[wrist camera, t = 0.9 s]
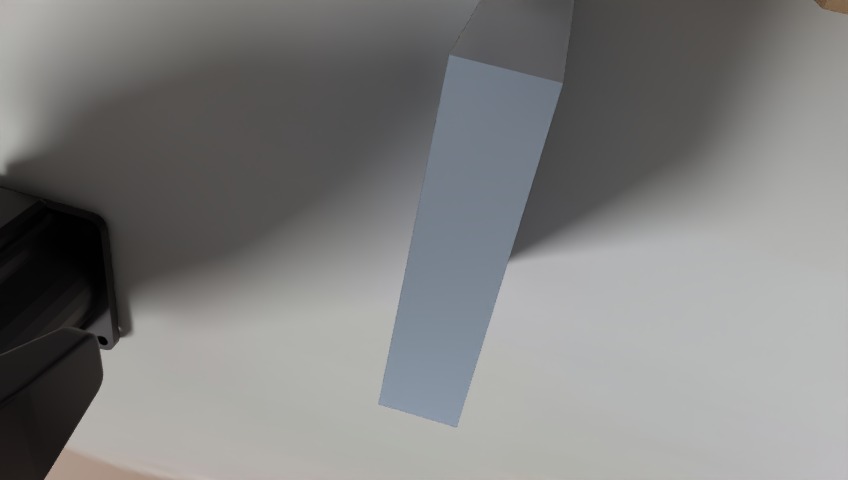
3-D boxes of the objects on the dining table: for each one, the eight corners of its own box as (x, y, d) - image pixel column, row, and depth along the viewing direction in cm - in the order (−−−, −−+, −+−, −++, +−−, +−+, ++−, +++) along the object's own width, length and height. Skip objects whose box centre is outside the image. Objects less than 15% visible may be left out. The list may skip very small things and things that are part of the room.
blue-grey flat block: (494, 265, 22) (456, 427, 17) (435, 248, 23) (378, 404, 17) (576, -14, 17) (563, 83, 12) (499, -33, 18) (449, 55, 12)
